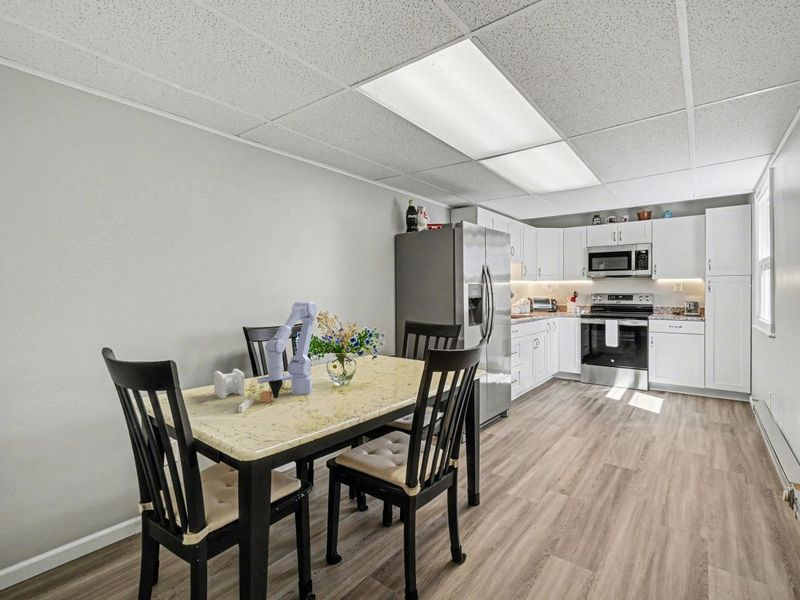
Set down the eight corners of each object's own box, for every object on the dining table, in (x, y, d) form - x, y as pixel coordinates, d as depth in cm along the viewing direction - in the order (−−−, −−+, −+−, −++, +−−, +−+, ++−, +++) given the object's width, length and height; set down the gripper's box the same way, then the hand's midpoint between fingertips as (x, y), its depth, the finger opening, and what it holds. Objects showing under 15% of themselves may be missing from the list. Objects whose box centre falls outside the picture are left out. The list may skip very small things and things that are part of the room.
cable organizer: (245, 398, 188) (245, 373, 188) (220, 402, 182) (220, 375, 181) (236, 391, 200) (236, 367, 200) (212, 394, 194) (212, 370, 193)
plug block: (272, 399, 182) (272, 390, 182) (269, 402, 178) (269, 393, 178) (263, 399, 182) (263, 390, 182) (260, 402, 178) (260, 393, 178)
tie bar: (253, 403, 175) (253, 398, 175) (243, 412, 163) (243, 406, 163) (247, 403, 175) (247, 398, 175) (237, 412, 163) (237, 406, 163)
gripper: (288, 363, 187) (288, 393, 187) (255, 367, 179) (256, 398, 179) (294, 366, 181) (294, 396, 181) (260, 369, 173) (260, 401, 173)
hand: (275, 397), depth 180 cm, fingers closed
